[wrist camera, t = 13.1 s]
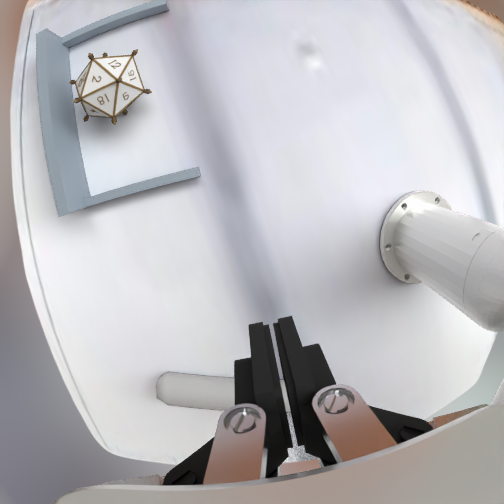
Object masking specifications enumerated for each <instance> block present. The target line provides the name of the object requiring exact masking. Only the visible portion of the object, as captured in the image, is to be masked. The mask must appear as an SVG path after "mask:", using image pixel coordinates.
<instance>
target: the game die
mask: <svg viewBox="0 0 504 504" xmlns="http://www.w3.org/2000/svg"><path fill="white" fill-rule="evenodd" d="M137 51H138V49H137V50H133V52H132V54H131V55H123V56H110V57H107V54H106V53H105V52H104V54H103V57H100V58H94V56H93V54H91V53H89V56H88V57H89V59H91V61H90V62H89V64H88V65H87V66H86V68H85V69H84V71H83V72H82V73H81V75H80V76H79V78H78V79H77V80H76V81H75V80H71V81H70V82H69V83H70V84H75V85H76V89H77V92H78V96H79V98H75V100H74V102H75V103H78V102H80V101H81V103H82V106H83V108H84V110H85V112H86V114H87V115H86V116H85V118H84V122H85V121H88V119H89V116H94V117H106V118H112V120H111V121H112V123H113V124H114V125H115V124H116V122H117V120H116V118H115V117H116V116H118V115H119V114H120V113H121V112H123V114H124V115H127V112H128V111H127V110H125V109H126V108H127V107H128V106H129V105H130V104H131V103H133V102H134V101H135V100H136V99H137V98H138V97H139V96H140V95H141V94H142V93H143V92H144V93H147V94H149V93H151V91H150V89H149V90H148V89H146V90H145V89H144V87H143V84H142V81H141V78H140V75H139V72H138V69H137V66H136V63H135V60H134V56H135V55H136V54H137Z"/></svg>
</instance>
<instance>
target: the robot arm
mask: <svg viewBox="0 0 504 504" xmlns="http://www.w3.org/2000/svg"><path fill="white" fill-rule="evenodd" d="M401 206H402V207H401ZM386 245H387V246H386ZM380 250H381V255H382V259H383V261H384V264H385V266H386V267H387V269H388V270H389V271H390V272H391V273H392V274H393V275H394V276H395V277H397V278H398V279H399V280H401V281H403V282H406V283H412V284H413V283H421V282H423V283H424V284H426V285H427V286H428V287H430V288H431V289H432V290H434V291H435V292H436V293H438V294H439V295H440V296H442V297H443V298H444V299H446V300H447V301H448V302H450V303H451V304H452V305H453V306H455V307H456V308H457V309H459V310H460V311H461V312H462V313H464V314H465V315H466V316H467V317H469V318H470V319H471V320H473V321H474V322H475V323H476V324H478V325H479V326H481V327H482V328H484V329H486V330H489V331H494V332H501V331H504V228H503V227H500V226H498V225H495V224H492V223H489V222H486V221H483V220H480V219H477V218H474V217H471V216H468V215H465V214H462V213H459V212H456V211H452V209H451V207H450V205H449V204H448V203H447V201H446V200H445V199H443V198H442V197H441V196H440V195H438V194H436V193H433V192H429V191H421V190H420V191H414V192H411V193H409V194H406V195H405V196H403V197H402V198H400V199H399V200H398V201H397V202H396V203H395V204H394V205H393V206H392V208H391V209H390V211H389V212H388V214H387V216H386V218H385V220H384V223H383V226H382V230H381V236H380ZM273 326H274V331H275V336H276V341H277V346H278V352H279V357H280V362H281V367H282V373H283V378H284V383H285V387H286V392H287V397H288V401H289V406H290V410H291V415H292V420H293V424H294V429H295V434H296V438H297V443H298V446H302V445H304V447H305V451H306V453H309V454H311V455H313V456H316V457H318V461H319V464H320V466H321V468H319V469H314V470H310V471H305V472H300V473H296V474H290V475H284V476H280V473H281V470H280V465H281V464H282V463H283V462H284V460H285V459H286V458H287V457H289V456H288V450H287V448H292V447H293V444H292V439H291V434H290V429H289V424H288V419H287V413H286V408H285V403H284V398H283V393H282V388H281V383H280V378H279V373H278V368H277V363H276V358H275V353H274V349H273V344H272V339H271V334H270V329H269V325H264V326H263V322H260V323H255V324H250V325H249V336H250V348H251V358H246V359H240V360H235V362H234V386H235V406H232V407H230V408H229V409H227V410H226V411H225V412H224V413H223V414H222V415H221V416H220V419H219V421H218V425H217V429H216V433H215V437H213V438H212V439H211V440H210V441H208V442H207V443H206V444H205V445H203V446H202V447H201V448H200V449H198V450H197V451H196V452H194V453H193V454H192V455H191V456H189V457H188V458H187V459H185V460H184V461H183V462H181V463H180V464H178V465H177V466H176V467H174V468H173V469H172V470H171V471H169V473H167V474H166V476H163V477H160V476H159V475H158V474H157V475H152V476H146V477H139V478H132V479H124V480H115V481H108V482H104V483H102V484H101V485H99V486H88V487H84V488H78V489H74V490H71V491H68V492H66V493H63V494H62V495H60V496H59V497H58V498H57V499H56V500H55V501H54V502H53V503H52V504H504V379H503V381H502V383H501V385H500V387H499V389H498V391H497V393H496V394H495V396H494V398H493V400H492V402H491V404H490V405H487V404H484V405H479V406H476V407H472V408H469V409H465V410H462V411H458V412H454V413H451V414H447V415H443V416H439V417H435V418H433V420H432V421H430V422H426V421H425V420H422V419H419V418H415V417H411V416H406V415H402V414H398V413H394V412H390V411H387V410H383V409H379V408H375V407H372V406H368V405H367V404H366V402H365V401H364V400H363V398H362V397H361V396H360V394H359V393H358V392H357V391H356V390H355V389H354V388H352V387H350V386H347V385H336V382H335V380H334V378H333V375H332V373H331V371H330V368H329V366H328V364H327V361H326V359H325V357H324V354H323V352H322V350H321V347H320V345H319V344H314V345H309V346H305V347H302V344H301V341H300V338H299V335H298V332H297V330H296V327H295V324H294V321H293V318H292V316H289V317H284V318H280V319H278V323H274V324H273Z"/></svg>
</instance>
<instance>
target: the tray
mask: <svg viewBox="0 0 504 504" xmlns="http://www.w3.org/2000/svg"><path fill="white" fill-rule="evenodd" d="M165 11H169V5H168V3H167V0H155V1H152V2H149V3H146V4H142V5H139V6H136V7H133V8H130V9H128V10H125V11H122V12H119V13H117V14H114V15H111V16H109V17H106V18H104V19H101V20H99V21H97V22H94V23H92V24H90V25H87V26H85V27H83V28H81V29H79V30H77V31H74V32H72V33H70V34H68V35H66V36H64V37H62V38H61V37H59V36H58V35H56V34H54V33H53V32H51V31H49V30H48V29H45V30H43V31H41V32H39V33H38V34H36V66H37V87H38V100H39V111H40V120H41V128H42V136H43V142H44V149H45V155H46V161H47V166H48V171H49V176H50V181H51V186H52V191H53V195H54V199H55V203H56V208H57V212H58V215H59V217H60V216H63V215H66V214H69V213H72V212H74V211H77V210H80V209H82V208H85V207H88V206H92V205H95V204H98V203H101V202H105V201H108V200H111V199H115V198H118V197H121V196H125V195H129V194H132V193H136V192H139V191H143V190H147V189H150V188H154V187H158V186H162V185H166V184H170V183H174V182H178V181H182V180H186V179H190V178H195V177H199V176H201V175H200V170H199V167H197V168H192V169H188V170H184V171H180V172H176V173H172V174H168V175H164V176H160V177H157V178H153V179H149V180H145V181H142V182H138V183H135V184H131V185H128V186H124V187H121V188H118V189H114V190H111V191H108V192H104V193H101V194H98V195H95V196H92V197H91V196H90V192H89V188H88V183H87V179H86V174H85V170H84V165H83V160H82V154H81V149H80V143H79V137H78V131H77V125H76V118H75V111H74V103H73V95H72V85H71V84H70V83H69V82H70V81H71V74H70V61H69V48H70V47H72V46H74V45H76V44H78V43H80V42H83V41H85V40H87V39H89V38H92V37H94V36H96V35H99V34H101V33H104V32H106V31H109V30H111V29H114V28H116V27H119V26H122V25H124V24H127V23H130V22H133V21H136V20H139V19H142V18H145V17H148V16H152V15H155V14H158V13H162V12H165Z"/></svg>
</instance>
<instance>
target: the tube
mask: <svg viewBox="0 0 504 504" xmlns="http://www.w3.org/2000/svg"><path fill="white" fill-rule="evenodd" d="M280 383H281V388H282V393H283V398H284V403H285V408H286V412H291V410H290V406H289V401H288V397H287V392H286V387H285V383H284V380H280ZM156 393H157V398H158V399H159V400H161V401H162V402H164V403H165V404H167V405H172V406H181V407H189V408H199V409H211V410H224V411H226V410H227V409H229V408H230V407H232V406H235V386H234V378H228V377H214V376H203V375H192V374H183V373H174V372H167V373H165V374H163V375H161V377H160V378H159V379H158V381H157V385H156Z"/></svg>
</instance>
